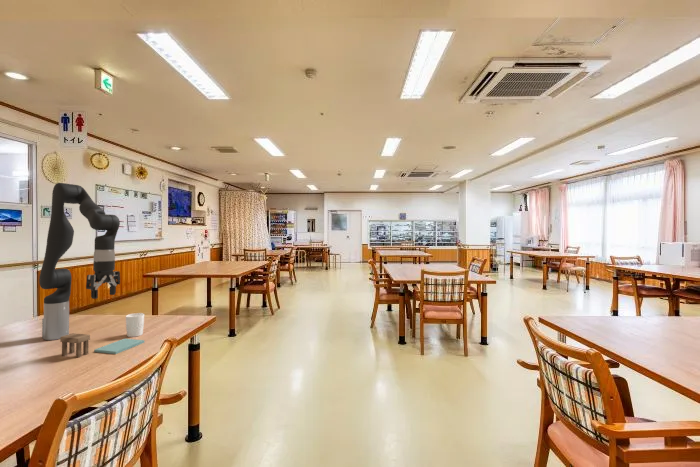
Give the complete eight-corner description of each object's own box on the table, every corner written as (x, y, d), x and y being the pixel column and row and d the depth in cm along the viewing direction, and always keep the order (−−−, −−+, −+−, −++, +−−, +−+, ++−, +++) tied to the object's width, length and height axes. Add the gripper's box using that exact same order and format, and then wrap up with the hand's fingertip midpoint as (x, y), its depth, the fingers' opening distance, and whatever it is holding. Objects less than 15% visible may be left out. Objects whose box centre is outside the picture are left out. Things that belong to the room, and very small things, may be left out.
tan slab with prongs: (60, 356, 136) (60, 336, 136) (72, 351, 141) (72, 333, 141) (78, 357, 135) (78, 338, 135) (89, 353, 140) (90, 334, 139)
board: (94, 351, 141) (94, 349, 141) (124, 340, 156) (124, 338, 156) (115, 354, 139) (115, 351, 139) (144, 342, 154) (144, 340, 154)
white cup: (135, 337, 160) (135, 317, 160) (121, 336, 162) (121, 316, 162) (147, 333, 168) (148, 313, 168) (134, 331, 170) (135, 312, 170)
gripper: (111, 258, 151) (110, 293, 152) (81, 260, 137) (80, 299, 138) (125, 258, 150) (124, 294, 150) (96, 261, 136) (95, 300, 136)
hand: (103, 296), depth 144 cm, fingers open, 8 cm apart
